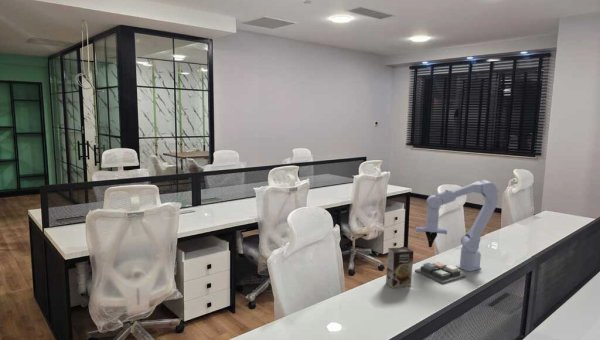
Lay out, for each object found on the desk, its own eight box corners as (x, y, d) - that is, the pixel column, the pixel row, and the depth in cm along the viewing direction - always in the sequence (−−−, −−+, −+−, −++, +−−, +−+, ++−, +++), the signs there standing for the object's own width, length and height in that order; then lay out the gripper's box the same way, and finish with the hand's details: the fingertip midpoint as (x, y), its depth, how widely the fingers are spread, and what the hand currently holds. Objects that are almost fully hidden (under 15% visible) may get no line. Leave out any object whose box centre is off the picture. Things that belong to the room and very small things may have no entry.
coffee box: (392, 288, 174) (394, 252, 172) (385, 282, 180) (387, 247, 178) (411, 287, 176) (414, 251, 174) (403, 280, 183) (406, 246, 180)
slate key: (428, 266, 195) (429, 262, 194) (435, 269, 191) (435, 265, 191) (423, 268, 192) (423, 264, 192) (429, 271, 189) (430, 266, 189)
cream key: (450, 268, 192) (451, 264, 192) (457, 271, 189) (458, 267, 189) (445, 270, 190) (445, 266, 190) (452, 273, 187) (452, 269, 187)
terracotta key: (438, 266, 198) (438, 262, 198) (445, 268, 195) (445, 265, 195) (432, 267, 196) (433, 263, 196) (439, 270, 193) (440, 266, 193)
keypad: (437, 265, 202) (438, 260, 202) (465, 277, 189) (466, 271, 188) (415, 271, 194) (415, 266, 193) (442, 284, 180) (443, 278, 180)
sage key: (440, 273, 189) (440, 269, 189) (447, 276, 185) (448, 272, 185) (434, 275, 187) (435, 271, 186) (441, 278, 183) (442, 274, 183)
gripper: (417, 220, 197) (415, 247, 199) (448, 223, 194) (446, 250, 196) (416, 217, 204) (414, 243, 206) (447, 219, 201) (444, 246, 203)
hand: (430, 246), depth 202 cm, fingers closed
